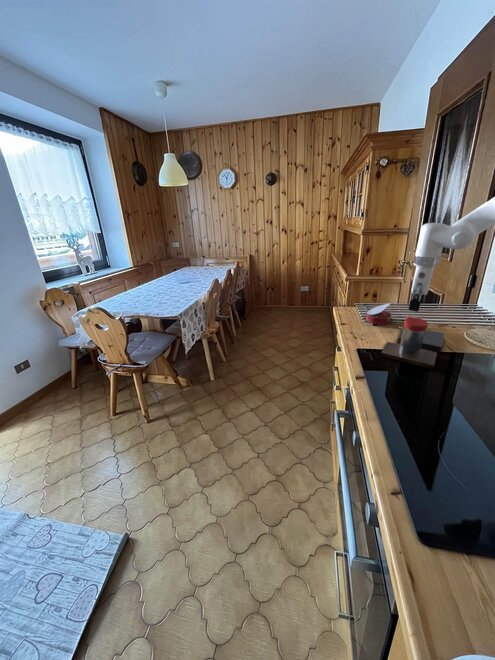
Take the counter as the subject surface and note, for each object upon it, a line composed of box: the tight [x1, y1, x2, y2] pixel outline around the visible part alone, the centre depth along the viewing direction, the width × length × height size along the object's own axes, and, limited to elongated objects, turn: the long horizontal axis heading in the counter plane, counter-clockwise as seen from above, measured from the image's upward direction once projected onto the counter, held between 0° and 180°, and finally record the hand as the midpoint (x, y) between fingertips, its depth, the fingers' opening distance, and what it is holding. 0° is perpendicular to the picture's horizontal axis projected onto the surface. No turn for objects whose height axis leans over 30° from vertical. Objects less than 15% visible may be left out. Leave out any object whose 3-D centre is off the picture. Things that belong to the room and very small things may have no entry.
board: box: [380, 341, 438, 370], centre depth 99 cm, size 16×9×2 cm, turn 54°
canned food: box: [365, 302, 392, 325], centre depth 124 cm, size 11×10×10 cm
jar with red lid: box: [399, 317, 429, 358], centre depth 96 cm, size 7×7×12 cm
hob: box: [396, 325, 445, 354], centre depth 108 cm, size 15×13×3 cm
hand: (415, 306), depth 106 cm, fingers open, 9 cm apart
